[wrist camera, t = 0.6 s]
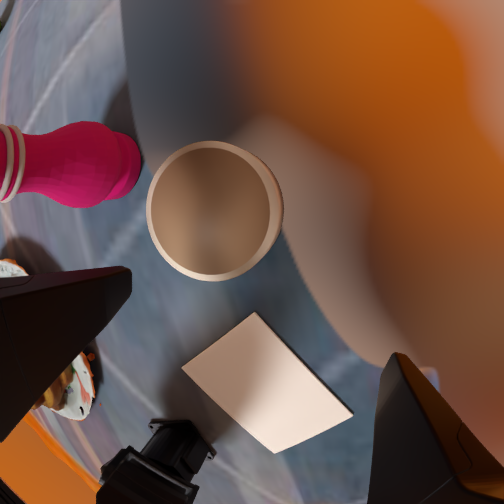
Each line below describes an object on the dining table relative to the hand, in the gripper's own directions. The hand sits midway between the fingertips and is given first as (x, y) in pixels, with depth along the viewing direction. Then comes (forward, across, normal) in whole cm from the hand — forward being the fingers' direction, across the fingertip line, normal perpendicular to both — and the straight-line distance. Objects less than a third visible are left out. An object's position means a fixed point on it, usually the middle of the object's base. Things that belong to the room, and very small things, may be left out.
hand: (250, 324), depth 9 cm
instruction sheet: (+13, 0, +16) cm, 21 cm away
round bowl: (+14, +7, +1) cm, 16 cm away
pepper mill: (+14, +18, -1) cm, 23 cm away
